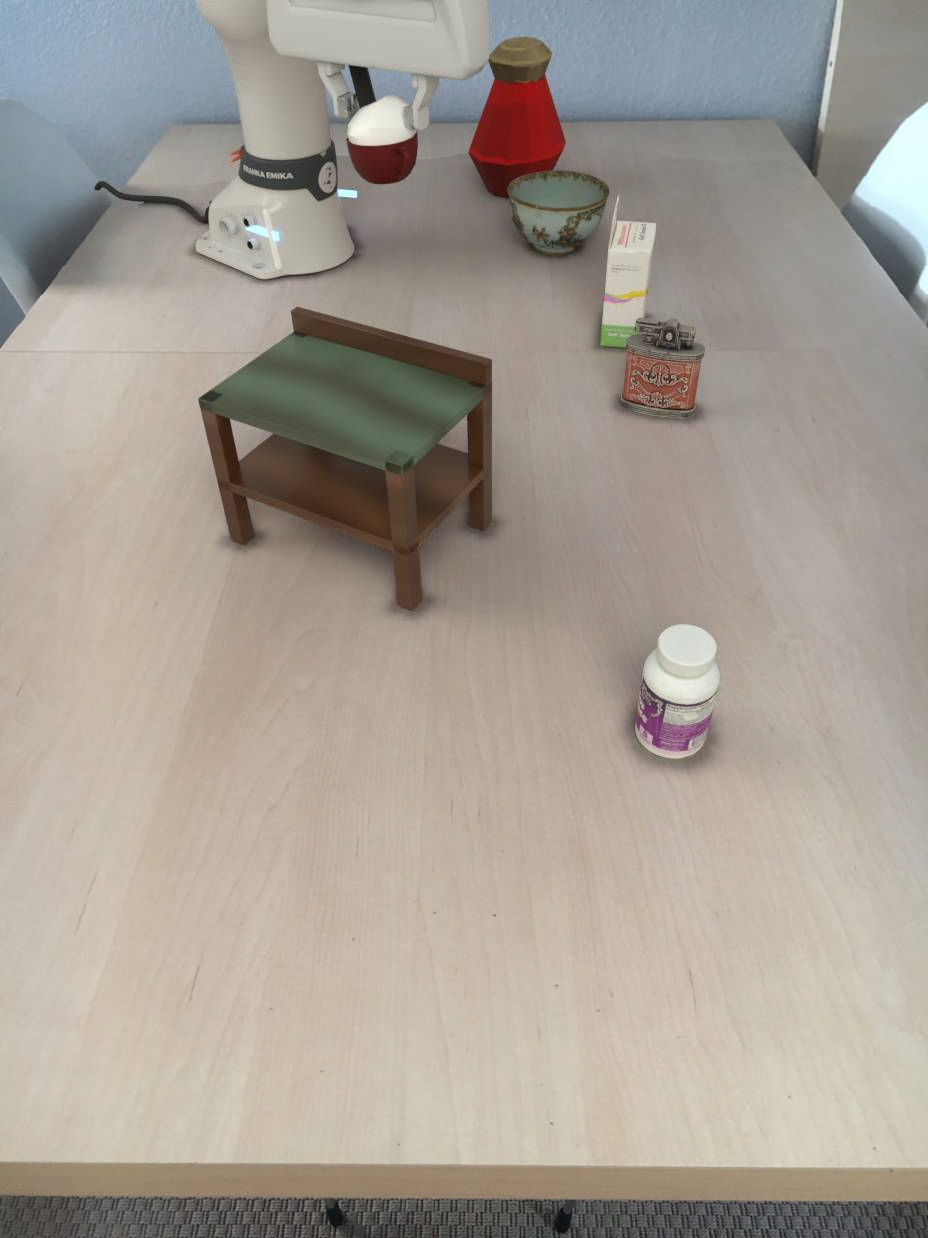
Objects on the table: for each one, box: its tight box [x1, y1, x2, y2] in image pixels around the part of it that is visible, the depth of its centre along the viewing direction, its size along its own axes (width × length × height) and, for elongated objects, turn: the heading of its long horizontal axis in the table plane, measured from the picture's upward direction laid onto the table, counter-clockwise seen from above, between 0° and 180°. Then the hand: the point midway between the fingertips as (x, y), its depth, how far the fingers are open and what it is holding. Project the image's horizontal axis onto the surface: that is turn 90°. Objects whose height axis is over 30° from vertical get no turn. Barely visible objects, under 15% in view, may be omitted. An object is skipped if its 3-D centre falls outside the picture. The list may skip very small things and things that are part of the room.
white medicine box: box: [599, 194, 657, 349], centre depth 114 cm, size 9×5×15 cm, turn 168°
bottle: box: [467, 36, 567, 199], centre depth 146 cm, size 16×14×20 cm
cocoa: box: [345, 65, 419, 185], centre depth 86 cm, size 10×6×12 cm, turn 8°
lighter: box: [619, 317, 706, 419], centre depth 103 cm, size 8×3×10 cm, turn 71°
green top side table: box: [197, 306, 493, 612], centre depth 86 cm, size 14×20×17 cm
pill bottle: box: [634, 623, 721, 760], centre depth 71 cm, size 5×5×10 cm
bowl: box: [507, 169, 610, 257], centre depth 134 cm, size 14×13×8 cm
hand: (382, 122), depth 86 cm, fingers closed on cocoa, 6 cm apart
